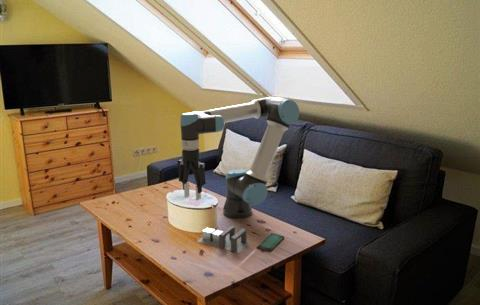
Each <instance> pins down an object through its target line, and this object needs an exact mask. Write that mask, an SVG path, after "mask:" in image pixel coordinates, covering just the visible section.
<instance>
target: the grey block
mask: <svg viewBox="0 0 480 305" xmlns="http://www.w3.org/2000/svg"><path fill="white" fill-rule="evenodd" d="M223 231H224V230H223ZM223 231H222V230H219V229H215V228H210V227H206V228H204V229H202V231H201V236H202V237H201V238H202V239H204V240H208V241H211V242H215V243H219V234H220V233H222V232H223ZM226 237H227V235H226V236H225V241H226Z"/></svg>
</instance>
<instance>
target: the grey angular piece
mask: <svg viewBox="0 0 480 305" xmlns="http://www.w3.org/2000/svg"><path fill="white" fill-rule="evenodd" d="M247 233H248V232H247V229H246V228H241V229H240V230H239V231H237V232H236V226H234V225H230V226H229V227H227V228H226V229H224V230H223V232H222V233H220V234H219V243H215V242H211V241H208V240H204V239H202V237H200V238H199V239H197V241H196V243H197V242H198V243H201V244H205V245H208V246H212V247H215V248H219V249H223V250H226V251H228V252H229V251H230V252H234V253H236V254H237V253H238V254H240V253H242V252H243V251H244V250H245V249H246V248H247V247H248V246H249V245H251V242H248V240H247V239H248V238H247ZM225 236H226V241H225Z"/></svg>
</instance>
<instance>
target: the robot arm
mask: <svg viewBox="0 0 480 305" xmlns="http://www.w3.org/2000/svg"><path fill="white" fill-rule="evenodd" d="M299 108H300V107H299V105H298V103H297V102H296V101H295V100H293V99H291V98H287V97H279V96H266V97H262V98H258V99H253V100H252V101H251V102H245V103H241V104H235V105H230V106H225V107H220V108H219V107H218V108H214V109H213V108H212V109H208V110H202V111H200V110H194V111H191V112H183V113H182V114H181V115H180V134H181V148H182V149H181V157H182V159H179V160H177V165H178V182H180V183H182V190H183V194H184V199H186V198H187V199H188V198H189V197H190V196H191V195H190V182H189V181H188V180H189V176H190V172H192V173H193V176H194V179H195V184H196V186H195V200H196V201H199V200H201V199H202V192H203V187H202V186H205V185H206V184H207V183H206V174H205V173H206V172H205V171H206V170H205V167H206V163H205V162H201V161H200V149H199V147H200V139H199V138H200V135H203V134H210V133H219V132H222V131H224V129H225V124H227V123H231V122H237V121H242V120H246V119H253V118H254V119H257V120H258V119H266V123H267V126H266V129H265V131H264V134H263V137H262V139H261V142H260V143H259V147H258V149H257V151H256V154H255V156H254V159H253V161H252V164H251V167H249V168H250V169H249V170H247V169H245V168H244V169H243V168H241V169H239V168H238V169H231V170H228V171H227V172H226V173H225V200H224V204H223V208H222V212H223V215H224V216H226V217H229V218H232V219H241V218H246V217H248V216H251V215H252V212H253V209H252V206H257V205H260V204H261V203H262V202H264V201H265V200H266V198H267V196H268V192H269V191H268V187H267V184H268V179H267V176H268V172H269V170H270V168H271V165H272V163H273V160H274V159H275V158H274V157H275V156H276V152H277V150H278V147H279V146H280V143H281V141H282V138H283V135H284V134H285V132H286V131H288V130H289V129H290V127H291V125H293V124H294V123H296V122H297V121H298V119H299V117H300V109H299ZM190 170H191V171H190Z"/></svg>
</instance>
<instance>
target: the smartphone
mask: <svg viewBox="0 0 480 305" xmlns="http://www.w3.org/2000/svg"><path fill="white" fill-rule="evenodd" d="M284 239H285V236H284V235H281V234H277V233H273V232H272V233H270V234H268V235H267V236H266V237H265V239H264V240H263V241H261V242H260V244H258V245H257V247H256V249H257V250H260V251H265V252H269V253H271V252H273V250H274V249H276V247H277V246H278V245H280V244H281V243H282V241H284Z"/></svg>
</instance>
